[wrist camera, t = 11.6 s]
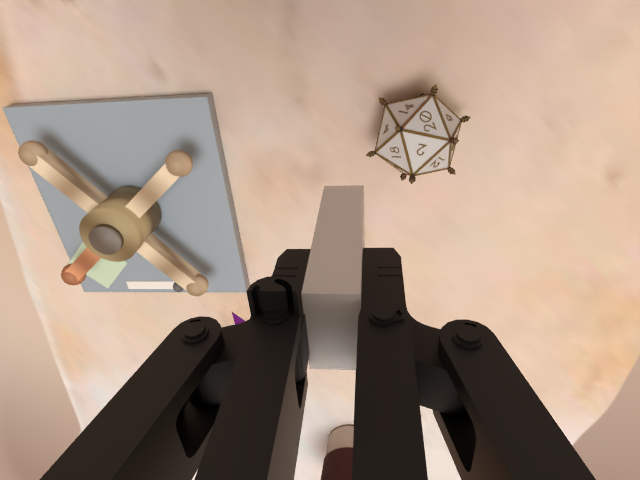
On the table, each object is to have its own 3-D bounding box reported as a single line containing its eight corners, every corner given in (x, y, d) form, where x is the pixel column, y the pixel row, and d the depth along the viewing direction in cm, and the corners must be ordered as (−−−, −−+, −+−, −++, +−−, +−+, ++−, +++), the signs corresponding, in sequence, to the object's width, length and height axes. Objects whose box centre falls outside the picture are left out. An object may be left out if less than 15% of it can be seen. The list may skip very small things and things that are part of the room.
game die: (393, 107, 46) (347, 84, 38) (476, 89, 42) (445, 58, 33) (397, 192, 46) (353, 187, 38) (480, 183, 42) (451, 176, 33)
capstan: (100, 52, 41) (56, 65, 35) (280, 221, 48) (267, 254, 43) (-4, 199, 51) (-52, 228, 45) (159, 320, 58) (136, 358, 52)
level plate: (9, 104, 46) (-9, 110, 44) (211, 93, 43) (203, 99, 41) (88, 284, 59) (77, 297, 56) (249, 285, 56) (244, 297, 54)
